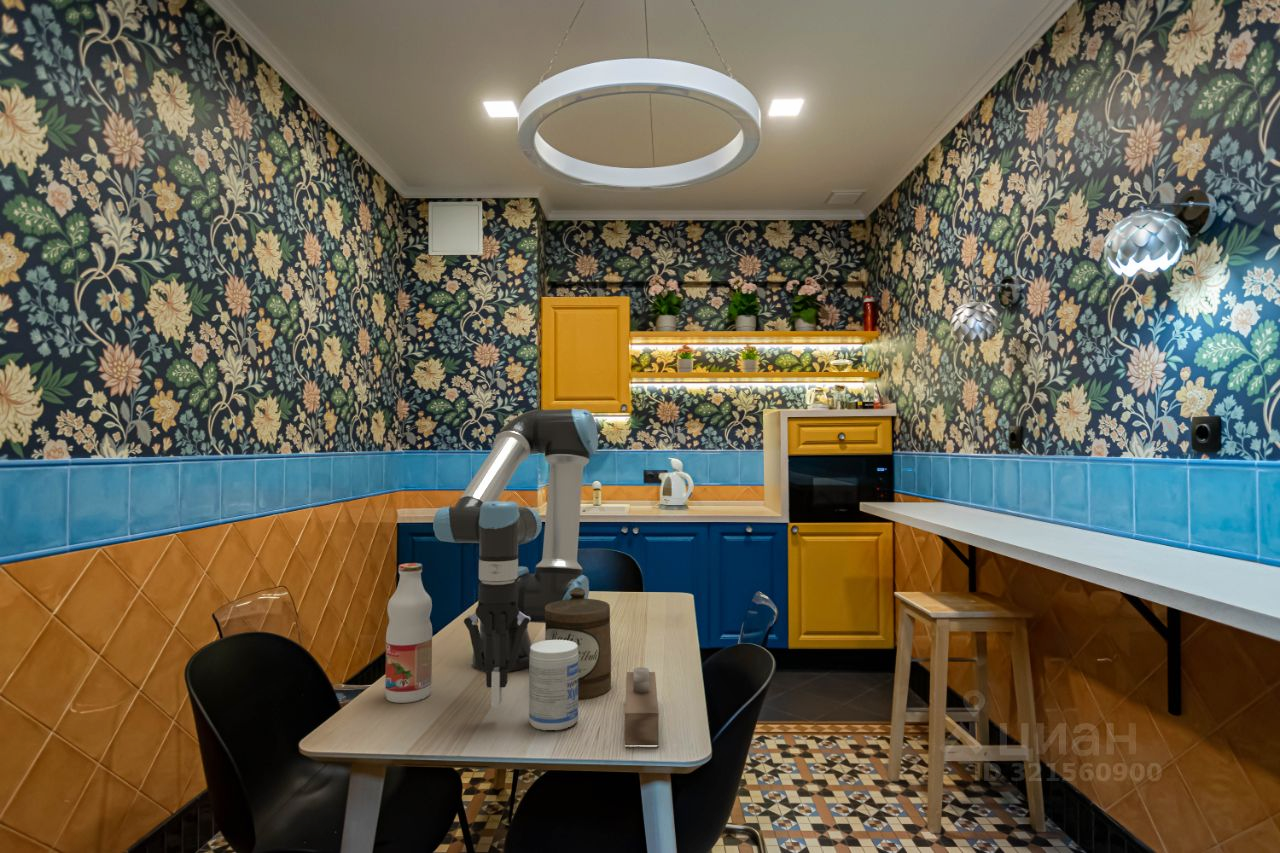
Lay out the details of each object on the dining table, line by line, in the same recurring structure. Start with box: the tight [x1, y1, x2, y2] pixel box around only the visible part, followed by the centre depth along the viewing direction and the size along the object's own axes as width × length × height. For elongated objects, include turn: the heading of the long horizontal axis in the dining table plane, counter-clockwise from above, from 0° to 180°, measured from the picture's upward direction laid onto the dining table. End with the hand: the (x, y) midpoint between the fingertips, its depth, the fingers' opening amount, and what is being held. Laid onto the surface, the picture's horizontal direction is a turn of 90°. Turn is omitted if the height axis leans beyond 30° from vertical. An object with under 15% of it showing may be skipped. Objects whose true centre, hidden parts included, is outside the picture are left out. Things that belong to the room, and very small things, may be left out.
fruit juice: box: [384, 562, 433, 704], centre depth 142 cm, size 9×9×28 cm
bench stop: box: [624, 666, 660, 746], centre depth 127 cm, size 6×22×10 cm, turn 0°
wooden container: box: [544, 588, 612, 700], centre depth 147 cm, size 15×15×22 cm
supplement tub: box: [528, 640, 579, 731], centre depth 127 cm, size 10×10×15 cm
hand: (496, 703), depth 127 cm, fingers closed
